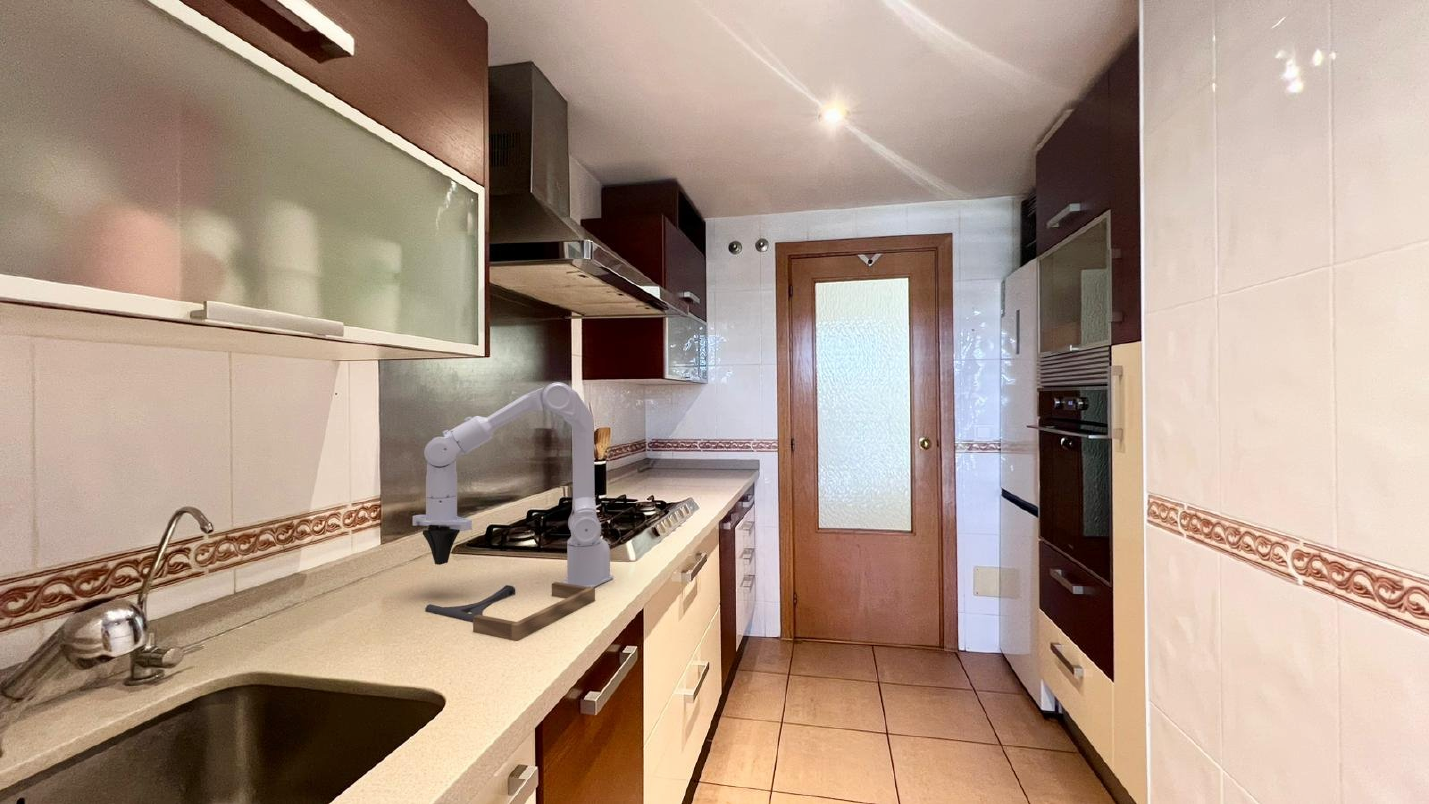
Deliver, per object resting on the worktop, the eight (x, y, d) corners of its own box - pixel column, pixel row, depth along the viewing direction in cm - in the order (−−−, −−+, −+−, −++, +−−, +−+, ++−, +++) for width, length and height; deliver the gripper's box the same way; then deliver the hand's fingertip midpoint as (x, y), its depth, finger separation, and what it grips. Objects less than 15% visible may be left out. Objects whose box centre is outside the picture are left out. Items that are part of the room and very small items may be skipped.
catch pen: (555, 594, 118) (555, 581, 118) (595, 600, 114) (595, 587, 114) (473, 631, 98) (473, 616, 98) (517, 640, 94) (517, 625, 94)
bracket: (539, 602, 115) (539, 588, 115) (479, 627, 102) (479, 611, 102) (488, 592, 121) (488, 579, 121) (425, 615, 108) (425, 600, 108)
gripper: (399, 496, 116) (398, 564, 115) (451, 501, 110) (451, 572, 110) (429, 492, 122) (429, 556, 122) (480, 496, 116) (479, 563, 116)
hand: (441, 563), depth 116 cm, fingers closed
